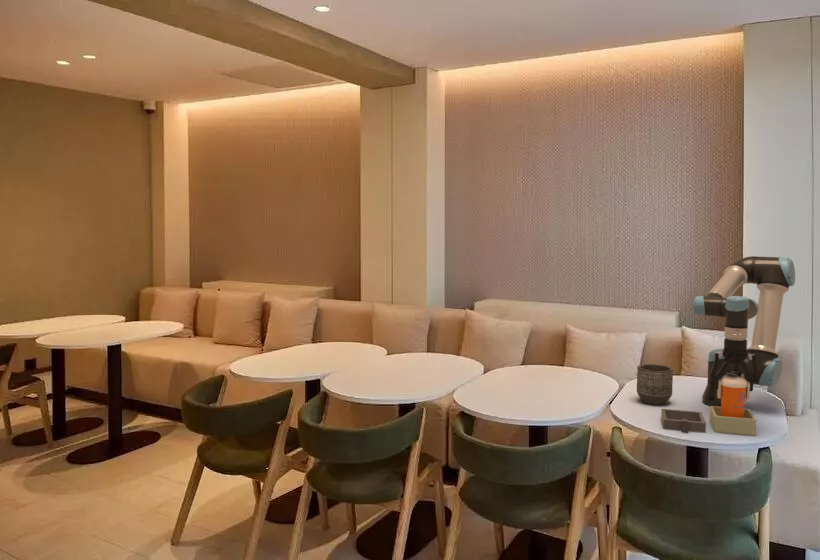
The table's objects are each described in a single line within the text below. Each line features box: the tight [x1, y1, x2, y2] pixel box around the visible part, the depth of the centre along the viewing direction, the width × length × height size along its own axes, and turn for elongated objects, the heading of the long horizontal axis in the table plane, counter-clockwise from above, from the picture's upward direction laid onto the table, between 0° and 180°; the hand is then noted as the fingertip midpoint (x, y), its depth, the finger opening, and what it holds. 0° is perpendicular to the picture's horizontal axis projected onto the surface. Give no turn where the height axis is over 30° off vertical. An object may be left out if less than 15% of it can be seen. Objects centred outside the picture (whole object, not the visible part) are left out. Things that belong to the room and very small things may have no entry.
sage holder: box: [709, 405, 757, 437], centre depth 239 cm, size 14×14×6 cm
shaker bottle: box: [721, 371, 747, 418], centre depth 239 cm, size 9×9×20 cm
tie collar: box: [660, 408, 707, 434], centre depth 243 cm, size 17×14×4 cm
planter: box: [636, 363, 674, 406], centre depth 274 cm, size 14×14×15 cm
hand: (733, 398), depth 239 cm, fingers closed on shaker bottle, 9 cm apart
